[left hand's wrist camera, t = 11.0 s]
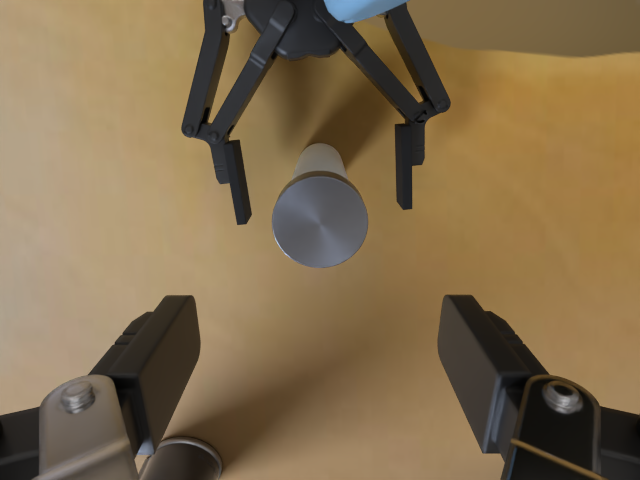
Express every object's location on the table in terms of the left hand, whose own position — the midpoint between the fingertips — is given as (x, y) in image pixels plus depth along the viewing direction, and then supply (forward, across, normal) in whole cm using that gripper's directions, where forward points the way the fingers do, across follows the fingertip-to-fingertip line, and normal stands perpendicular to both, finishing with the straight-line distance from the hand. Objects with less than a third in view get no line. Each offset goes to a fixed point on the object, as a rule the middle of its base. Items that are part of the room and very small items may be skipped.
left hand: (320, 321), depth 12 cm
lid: (+10, 0, 0) cm, 10 cm away
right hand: (+21, 0, -3) cm, 22 cm away
